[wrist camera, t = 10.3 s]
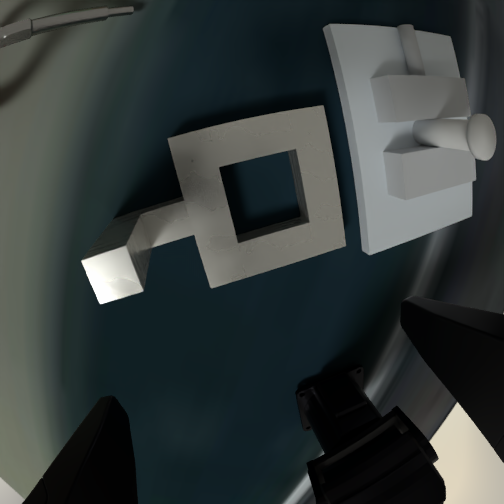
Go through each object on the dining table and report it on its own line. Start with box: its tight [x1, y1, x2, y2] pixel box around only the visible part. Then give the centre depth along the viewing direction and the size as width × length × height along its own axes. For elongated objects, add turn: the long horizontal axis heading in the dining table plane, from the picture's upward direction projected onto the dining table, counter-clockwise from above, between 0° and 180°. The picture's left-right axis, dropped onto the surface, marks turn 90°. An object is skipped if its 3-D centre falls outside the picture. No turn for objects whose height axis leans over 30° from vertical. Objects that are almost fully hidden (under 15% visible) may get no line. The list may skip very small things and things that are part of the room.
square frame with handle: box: [81, 105, 346, 304], centre depth 15 cm, size 14×9×7 cm, turn 103°
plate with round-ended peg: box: [323, 24, 496, 255], centre depth 17 cm, size 16×12×7 cm
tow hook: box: [0, 6, 134, 48], centre depth 12 cm, size 7×10×7 cm
